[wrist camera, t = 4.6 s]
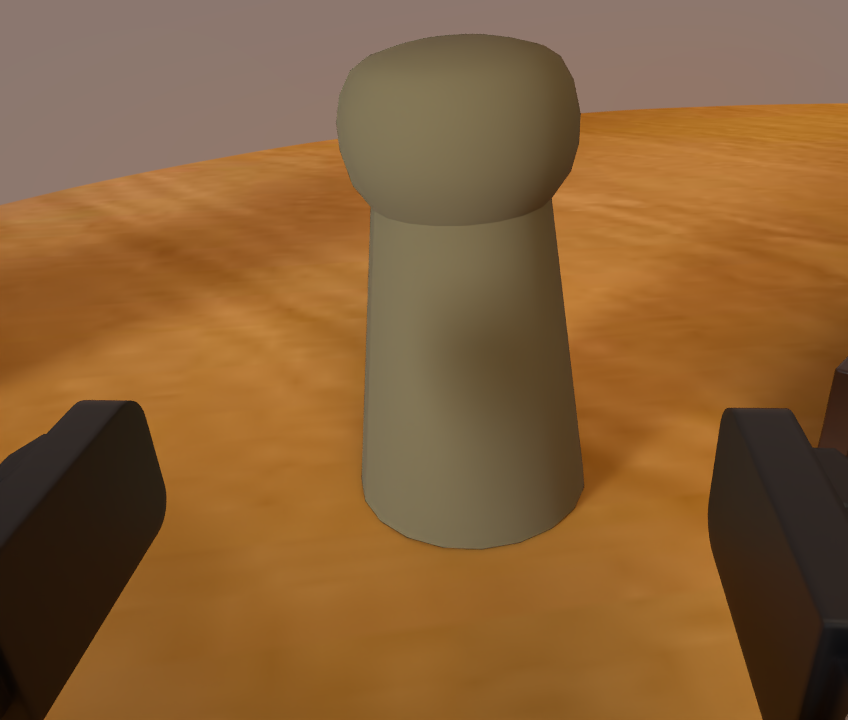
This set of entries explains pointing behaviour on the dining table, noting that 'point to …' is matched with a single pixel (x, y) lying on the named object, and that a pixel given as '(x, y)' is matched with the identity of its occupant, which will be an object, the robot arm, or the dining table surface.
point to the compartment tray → (837, 413)
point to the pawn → (465, 287)
